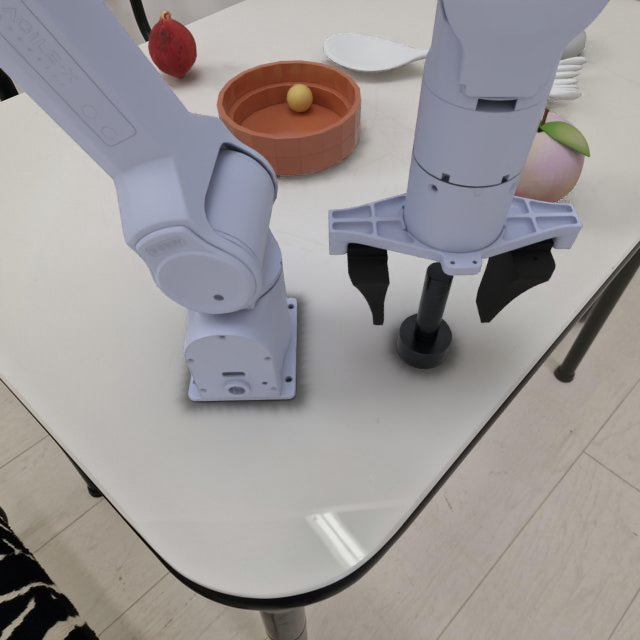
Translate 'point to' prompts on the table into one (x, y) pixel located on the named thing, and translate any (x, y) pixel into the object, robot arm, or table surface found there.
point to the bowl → (293, 115)
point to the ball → (299, 98)
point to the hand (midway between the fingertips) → (429, 313)
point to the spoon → (390, 55)
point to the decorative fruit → (553, 160)
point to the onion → (172, 46)
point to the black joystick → (427, 323)
